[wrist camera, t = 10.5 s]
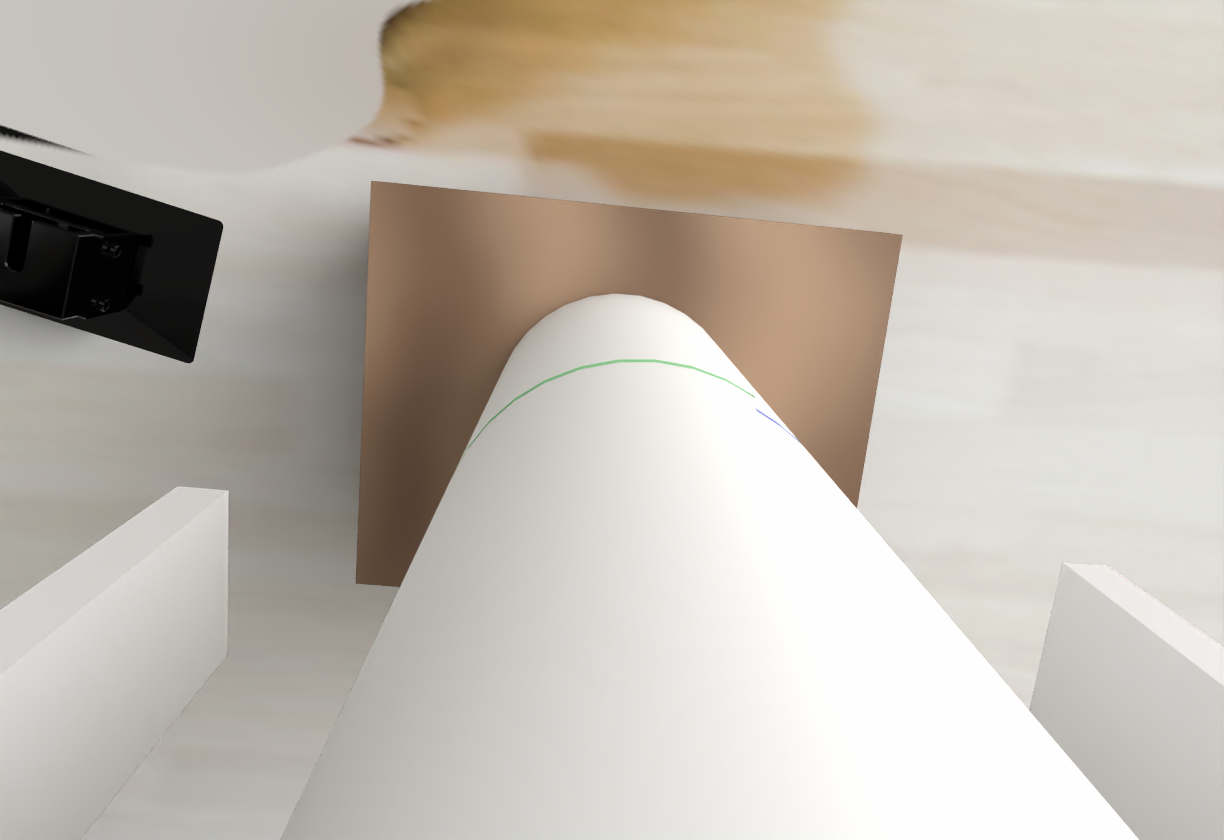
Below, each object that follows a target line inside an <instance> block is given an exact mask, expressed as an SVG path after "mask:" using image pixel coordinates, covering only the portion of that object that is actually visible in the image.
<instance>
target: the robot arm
mask: <svg viewBox="0 0 1224 840" xmlns="http://www.w3.org/2000/svg"><path fill="white" fill-rule="evenodd" d="M228 497H229V490H217V489H206V488H194V487H182V486H177V487H176V488H174V489H173V490H171V491H170V492H169V493H167V494H166V495H164V496H163V497H161V498H160V499H159V500H157V501H156V502H154V503H153V504H151V505H150V506H148V507H147V508H146V509H144V510H143V511H141V512H140V513H138V514H137V515H136V516H134V517H133V518H131V519H130V520H128V521H127V522H126V523H124V524H123V525H121V526H120V527H118V528H117V529H115V530H114V531H113V532H111V533H110V534H108V535H107V536H105V537H104V538H103V539H101V540H100V541H98V542H97V543H95V544H94V545H93V546H91V547H90V548H88V549H87V550H85V551H84V552H82V553H81V554H80V555H78V556H77V557H75V558H74V559H72V560H71V561H70V562H68V563H67V564H65V565H64V566H62V567H61V568H60V569H58V570H57V571H55V572H54V573H52V574H51V575H49V576H48V577H47V578H45V579H44V580H42V581H41V582H39V583H38V584H37V585H35V586H34V587H32V588H31V589H29V590H28V591H27V592H25V593H24V594H22V595H21V596H19V597H18V598H16V599H15V600H14V601H12V602H11V603H9V604H8V605H6V606H5V607H4V608H2V609H1V610H0V840H81V839H82V837H83V836H84V835H85V834H86V832H87V831H88V830H89V829H90V827H91V826H92V825H93V824H94V822H95V821H96V820H97V818H98V817H99V816H100V815H101V813H102V812H103V811H104V810H105V808H106V807H107V806H108V805H109V803H110V802H111V801H112V800H113V798H114V797H115V796H116V795H117V793H118V792H119V791H120V790H121V788H122V787H123V786H124V785H125V783H126V782H127V781H128V779H129V778H130V777H131V776H132V774H133V773H134V772H135V771H136V769H137V768H138V767H139V766H140V764H141V763H142V762H143V761H144V759H145V758H146V757H147V756H148V754H149V753H150V752H151V751H152V749H153V748H154V747H155V746H156V744H157V743H158V742H159V740H160V739H161V738H162V737H163V735H164V734H165V733H166V732H167V730H168V729H169V728H170V727H171V725H172V724H173V723H174V722H175V720H176V719H177V718H178V717H179V715H180V714H181V713H182V712H183V710H184V709H185V708H186V706H187V705H188V704H189V703H190V701H191V700H192V699H193V698H194V696H195V695H196V694H197V693H198V691H199V690H200V689H201V688H202V686H203V685H204V684H205V683H206V681H207V680H208V679H209V678H210V676H211V675H212V674H213V673H214V671H215V670H216V669H217V667H218V666H219V665H220V664H221V662H222V661H223V660H224V659H225V657H226V656H227V655H228ZM1029 711H1030V713H1031V714H1032V715H1033V716H1034V717H1035V718H1036V720H1037V721H1038V722H1039V723H1040V724H1041V725H1042V727H1043V728H1044V729H1045V730H1046V731H1047V733H1048V734H1049V735H1050V736H1051V737H1052V738H1053V740H1054V741H1055V742H1056V743H1057V744H1058V745H1059V747H1060V748H1061V749H1062V750H1063V751H1064V752H1065V754H1066V755H1067V756H1068V757H1069V758H1070V759H1071V761H1072V762H1073V763H1074V764H1075V765H1076V767H1077V768H1078V769H1079V770H1080V771H1081V772H1082V774H1083V775H1084V776H1085V777H1086V778H1087V779H1088V781H1089V782H1090V783H1091V784H1092V785H1093V786H1094V788H1095V789H1096V790H1097V791H1098V792H1099V793H1100V795H1101V796H1102V797H1103V798H1104V799H1105V801H1106V802H1107V803H1108V804H1109V805H1110V806H1111V808H1112V809H1113V810H1114V811H1115V812H1116V813H1117V815H1118V816H1119V817H1120V818H1121V819H1122V820H1123V822H1124V823H1125V824H1126V825H1127V826H1128V827H1129V829H1130V830H1131V831H1132V832H1133V833H1134V835H1135V836H1136V837H1137V838H1138V839H1139V840H1224V647H1223V646H1221V645H1220V644H1219V643H1217V642H1216V641H1214V640H1213V639H1212V638H1210V637H1209V636H1207V635H1206V634H1204V633H1203V632H1202V631H1200V630H1199V629H1197V628H1196V627H1195V626H1193V625H1192V624H1190V623H1189V622H1187V621H1186V620H1185V619H1183V618H1182V617H1180V616H1179V615H1178V614H1176V613H1175V612H1173V611H1172V610H1171V609H1169V608H1168V607H1166V606H1165V605H1163V604H1162V603H1161V602H1159V601H1158V600H1156V599H1155V598H1154V597H1152V596H1151V595H1149V594H1148V593H1146V592H1145V591H1144V590H1142V589H1141V588H1139V587H1138V586H1137V585H1135V584H1134V583H1132V582H1131V581H1130V580H1128V579H1127V578H1125V577H1124V576H1122V575H1121V574H1120V573H1118V572H1117V571H1115V570H1114V569H1113V568H1111V567H1110V566H1103V565H1091V564H1080V563H1068V562H1062V566H1061V571H1060V575H1059V580H1058V584H1057V589H1056V593H1055V598H1054V602H1053V607H1052V611H1051V615H1050V620H1049V624H1048V629H1047V633H1046V638H1045V642H1044V647H1043V651H1042V656H1041V660H1040V665H1039V669H1038V673H1037V678H1036V682H1035V687H1034V691H1033V696H1032V700H1031V705H1030V709H1029Z"/></svg>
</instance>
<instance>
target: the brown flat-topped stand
mask: <svg viewBox="0 0 1224 840" xmlns="http://www.w3.org/2000/svg"><path fill="white" fill-rule="evenodd" d="M901 241H902V235H899V234H890V233H882V232H872V231H862V230H852V229H842V228H833V227H823V226H813V225H803V224H793V223H783V222H773V221H764V220H754V219H744V218H734V217H724V216H714V215H704V214H694V213H685V212H675V211H665V210H655V209H645V208H635V207H625V206H616V205H606V204H596V203H586V202H576V201H566V200H556V199H547V198H537V197H527V196H517V195H507V194H497V193H487V192H477V191H468V190H458V189H448V188H438V187H428V186H418V185H408V184H399V183H389V182H377V181H371V200H370V226H369V252H368V278H367V305H366V331H365V357H364V383H363V410H362V436H361V462H360V488H359V515H358V541H357V567H356V583H357V584H369V585H382V586H394V587H400V586H401V584H402V582H403V580H404V578H405V575H406V573H407V571H408V569H409V567H410V565H411V563H412V561H413V559H414V556H415V554H416V552H417V550H418V548H419V546H420V544H421V542H422V540H423V537H424V535H425V533H426V531H427V529H428V527H429V525H430V523H431V521H432V518H433V516H434V514H435V512H436V510H437V508H438V506H439V504H440V502H441V499H442V497H443V495H444V493H445V491H446V489H447V487H448V485H449V483H450V480H451V479H452V477H453V474H454V472H455V470H456V468H457V466H458V464H459V462H460V459H461V457H462V455H463V453H464V451H465V449H466V447H467V445H468V443H469V441H470V438H471V436H472V434H473V432H474V430H475V428H476V426H477V424H478V422H479V420H480V417H481V415H482V413H483V411H484V409H485V407H486V405H487V403H488V401H489V399H490V397H491V394H492V392H493V390H494V388H495V386H496V384H497V382H498V380H499V378H500V376H501V373H502V371H503V369H504V367H505V365H506V363H507V362H508V360H509V358H510V356H511V354H512V352H513V350H514V348H515V347H516V346H517V345H518V343H519V342H520V341H521V339H522V338H523V337H524V336H525V334H526V333H527V332H528V331H529V330H530V329H531V328H532V327H534V326H535V325H536V324H537V323H538V322H539V321H540V320H542V319H543V318H544V317H545V316H547V315H549V314H550V313H552V312H554V311H556V310H557V309H559V308H561V307H562V306H564V305H566V304H569V303H572V302H575V301H578V300H581V299H584V298H587V297H591V296H599V295H607V294H626V295H637V296H643V297H646V298H650V299H653V300H656V301H660V302H663V303H665V304H667V305H669V306H671V307H673V308H675V309H677V310H678V311H680V312H682V313H684V314H686V315H687V316H688V317H689V318H691V319H692V320H693V321H694V322H696V323H697V324H698V325H699V326H700V327H702V328H703V329H704V330H705V332H706V333H707V334H708V335H709V336H710V337H711V339H712V340H713V341H714V342H715V343H716V344H717V346H718V347H719V348H720V349H721V350H722V352H723V353H724V354H725V355H726V356H727V357H728V359H729V360H730V361H731V362H732V363H733V364H734V366H735V367H736V368H737V369H738V370H739V371H740V373H741V374H742V375H743V376H744V377H745V378H746V380H747V381H748V382H749V383H750V384H751V386H752V387H753V388H754V389H755V390H756V391H757V393H758V394H759V395H760V396H761V397H762V398H763V400H764V401H765V402H766V403H767V404H768V405H769V407H770V408H771V409H772V410H773V411H774V412H775V414H776V415H777V416H778V417H779V418H780V420H781V421H782V422H783V423H784V424H785V425H786V427H787V428H788V429H789V430H790V431H791V432H792V434H793V435H794V436H795V437H796V438H797V439H798V441H799V442H800V443H801V444H802V445H803V446H804V448H805V449H806V450H807V451H808V452H809V454H810V455H811V456H812V457H813V458H814V459H815V461H816V462H817V463H818V464H819V465H820V466H821V468H822V469H823V470H824V471H825V472H826V473H827V475H828V476H829V477H830V478H831V479H832V480H833V482H834V483H835V484H836V485H837V486H838V488H839V489H840V490H841V491H842V492H843V493H844V495H845V496H846V497H847V498H848V499H849V500H850V502H851V503H852V504H853V505H854V506H855V507H856V509H857V504H858V498H859V492H860V486H861V480H862V474H863V468H864V462H865V456H866V450H867V444H868V438H869V432H870V426H871V420H872V414H873V408H874V402H875V396H876V390H877V384H878V378H879V372H880V366H881V360H882V354H883V348H884V342H885V337H886V331H887V325H888V319H889V313H890V307H891V301H892V295H893V289H894V283H895V277H896V271H897V265H898V259H899V253H900V247H901Z"/></svg>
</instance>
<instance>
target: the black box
mask: <svg viewBox="0 0 1224 840" xmlns="http://www.w3.org/2000/svg"><path fill="white" fill-rule="evenodd" d="M0 137H2V138H8V139H14V140H20V141H23V142H29V143H35V144H41V145H48V146H53V147H59V148H64V149H69V150H75V151H79V150H76V149H73V148H70V147H67V146H64V145H61V144H57V143H54V142H51V141H48V140H45V139H42V138H39V137H36V136H33V135H30V134H27V133H24V132H21V131H18V130H15V129H12V128H8V127H6V126H2V125H0ZM81 152H82V151H81ZM222 231H223V224H222V222H220V221H218V220H215V219H212V218H209V217H206V216H203V215H200V214H197V213H193V212H190V211H187V210H184V209H181V208H178V207H175V206H172V205H169V204H165V203H162V202H159V201H156V200H153V199H150V198H147V197H144V196H140V195H137V194H134V193H131V192H128V191H125V190H122V189H119V188H116V187H112V186H109V185H106V184H103V183H100V182H97V181H94V180H91V179H87V178H84V177H81V176H78V175H75V174H72V173H69V172H66V171H62V170H59V169H56V168H53V167H50V166H47V165H44V164H41V163H38V162H34V161H31V160H28V159H25V158H22V157H19V156H16V155H13V154H9V153H6V152H3V151H0V304H1V305H4V306H7V307H11V308H14V309H17V310H20V311H23V312H27V313H30V314H33V315H36V316H39V317H42V318H46V319H49V320H52V321H55V322H58V323H61V324H65V325H68V326H71V327H74V328H77V329H81V330H84V331H87V332H90V333H93V334H96V335H100V336H103V337H106V338H109V339H112V340H115V341H119V342H122V343H125V344H128V345H131V346H135V347H138V348H141V349H144V350H147V351H150V352H154V353H157V354H160V355H163V356H166V357H170V358H173V359H176V360H179V361H182V362H185V363H191V362H193V360H194V356H195V351H196V347H197V343H198V338H199V334H200V329H201V325H202V320H203V316H204V311H205V307H206V302H207V298H208V293H209V289H210V284H211V280H212V275H213V271H214V266H215V262H216V257H217V253H218V249H219V244H220V240H221V235H222Z"/></svg>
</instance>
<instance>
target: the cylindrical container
mask: <svg viewBox="0 0 1224 840" xmlns="http://www.w3.org/2000/svg"><path fill="white" fill-rule="evenodd" d="M281 840H1139V839H1138V838H1137V837H1136V836H1135V835H1134V833H1133V832H1132V831H1131V830H1130V829H1129V827H1128V826H1127V825H1126V824H1125V823H1124V822H1123V820H1122V819H1121V818H1120V817H1119V816H1118V815H1117V813H1116V812H1115V811H1114V810H1113V809H1112V808H1111V806H1110V805H1109V804H1108V803H1107V802H1106V801H1105V799H1104V798H1103V797H1102V796H1101V795H1100V793H1099V792H1098V791H1097V790H1096V789H1095V788H1094V786H1093V785H1092V784H1091V783H1090V782H1089V781H1088V779H1087V778H1086V777H1085V776H1084V775H1083V774H1082V772H1081V771H1080V770H1079V769H1078V768H1077V767H1076V765H1075V764H1074V763H1073V762H1072V761H1071V759H1070V758H1069V757H1068V756H1067V755H1066V754H1065V752H1064V751H1063V750H1062V749H1061V748H1060V747H1059V745H1058V744H1057V743H1056V742H1055V741H1054V740H1053V738H1052V737H1051V736H1050V735H1049V734H1048V733H1047V731H1046V730H1045V729H1044V728H1043V727H1042V725H1041V724H1040V723H1039V722H1038V721H1037V720H1036V718H1035V717H1034V716H1033V715H1032V714H1031V713H1030V711H1029V710H1028V709H1027V708H1026V707H1025V706H1024V704H1023V703H1022V702H1021V701H1020V700H1019V699H1018V697H1017V696H1016V695H1015V694H1014V693H1013V691H1012V690H1011V689H1010V688H1009V687H1008V686H1007V684H1006V683H1005V682H1004V681H1003V680H1002V679H1001V677H1000V676H999V675H998V674H997V673H996V672H995V670H994V669H993V668H992V667H991V666H990V665H989V663H988V662H987V661H986V660H985V659H984V657H983V656H982V655H981V654H980V653H979V652H978V650H977V649H976V648H975V647H974V646H973V645H972V643H971V642H970V641H969V640H968V639H967V638H966V636H965V635H964V634H963V633H962V632H961V631H960V629H959V628H958V627H957V626H956V625H955V623H954V622H953V621H952V620H951V619H950V618H949V616H948V615H947V614H946V613H945V612H944V611H943V609H942V608H941V607H940V606H939V605H938V604H937V602H936V601H935V600H934V599H933V598H932V597H931V595H930V594H929V593H928V592H927V591H926V589H925V588H924V587H923V586H922V585H921V584H920V582H919V581H918V580H917V579H916V578H915V577H914V575H913V574H912V573H911V572H910V571H909V570H908V568H907V567H906V566H905V565H904V564H903V563H902V561H901V560H900V559H899V558H898V557H897V555H896V554H895V553H894V552H893V551H892V550H891V548H890V547H889V546H888V545H887V544H886V543H885V541H884V540H883V539H882V538H881V537H880V536H879V534H878V533H877V532H876V531H875V530H874V529H873V527H872V526H871V525H870V524H869V523H868V521H867V520H866V519H865V518H864V517H863V516H862V514H861V513H860V512H859V511H858V510H857V509H856V507H855V506H854V505H853V504H852V503H851V502H850V500H849V499H848V498H847V497H846V496H845V495H844V493H843V492H842V491H841V490H840V489H839V488H838V486H837V485H836V484H835V483H834V482H833V480H832V479H831V478H830V477H829V476H828V475H827V473H826V472H825V471H824V470H823V469H822V468H821V466H820V465H819V464H818V463H817V462H816V461H815V459H814V458H813V457H812V456H811V455H810V454H809V452H808V451H807V450H806V449H805V448H804V446H803V445H802V444H801V443H800V442H799V441H798V439H797V438H796V437H795V436H794V435H793V434H792V432H791V431H790V430H789V429H788V428H787V427H786V425H785V424H784V423H783V422H782V421H781V420H780V418H779V417H778V416H777V415H776V414H775V412H774V411H773V410H772V409H771V408H770V407H769V405H768V404H767V403H766V402H765V401H764V400H763V398H762V397H761V396H760V395H759V394H758V393H757V391H756V390H755V389H754V388H753V387H752V386H751V384H750V383H749V382H748V381H747V380H746V378H745V377H744V376H743V375H742V374H741V373H740V371H739V370H738V369H737V368H736V367H735V366H734V364H733V363H732V362H731V361H730V360H729V359H728V357H727V356H726V355H725V354H724V353H723V352H722V350H721V349H720V348H719V347H718V346H717V344H716V343H715V342H714V341H713V340H712V339H711V337H710V336H709V335H708V334H707V333H706V332H705V330H704V329H703V328H702V327H700V326H699V325H698V324H697V323H696V322H694V321H693V320H692V319H691V318H689V317H688V316H687V315H686V314H684V313H682V312H680V311H678V310H677V309H675V308H673V307H671V306H669V305H667V304H665V303H663V302H660V301H656V300H653V299H650V298H646V297H643V296H637V295H626V294H607V295H599V296H591V297H587V298H584V299H581V300H578V301H575V302H572V303H569V304H566V305H564V306H562V307H561V308H559V309H557V310H556V311H554V312H552V313H550V314H549V315H547V316H545V317H544V318H543V319H542V320H540V321H539V322H538V323H537V324H536V325H535V326H534V327H532V328H531V329H530V330H529V331H528V332H527V333H526V334H525V336H524V337H523V338H522V339H521V341H520V342H519V343H518V345H517V346H516V347H515V348H514V350H513V352H512V354H511V356H510V358H509V360H508V362H507V363H506V365H505V367H504V369H503V371H502V373H501V376H500V378H499V380H498V382H497V384H496V386H495V388H494V390H493V392H492V394H491V397H490V399H489V401H488V403H487V405H486V407H485V409H484V411H483V413H482V415H481V417H480V420H479V422H478V424H477V426H476V428H475V430H474V432H473V434H472V436H471V438H470V441H469V443H468V445H467V447H466V449H465V451H464V453H463V455H462V457H461V459H460V462H459V464H458V466H457V468H456V470H455V472H454V474H453V477H452V479H451V480H450V483H449V485H448V487H447V489H446V491H445V493H444V495H443V497H442V499H441V502H440V504H439V506H438V508H437V510H436V512H435V514H434V516H433V518H432V521H431V523H430V525H429V527H428V529H427V531H426V533H425V535H424V537H423V540H422V542H421V544H420V546H419V548H418V550H417V552H416V554H415V556H414V559H413V561H412V563H411V565H410V567H409V569H408V571H407V573H406V575H405V578H404V580H403V582H402V584H401V586H400V588H399V590H398V592H397V594H396V597H395V599H394V601H393V603H392V605H391V607H390V609H389V611H388V613H387V616H386V618H385V620H384V622H383V624H382V626H381V628H380V630H379V632H378V635H377V637H376V639H375V641H374V643H373V645H372V647H371V649H370V651H369V654H368V656H367V658H366V660H365V662H364V664H363V666H362V668H361V671H360V673H359V675H358V677H357V679H356V681H355V683H354V685H353V687H352V690H351V692H350V694H349V696H348V698H347V700H346V702H345V704H344V706H343V709H342V711H341V713H340V715H339V717H338V719H337V721H336V723H335V725H334V728H333V730H332V732H331V734H330V736H329V738H328V740H327V742H326V744H325V747H324V749H323V751H322V753H321V755H320V757H319V759H318V761H317V763H316V766H315V768H314V770H313V772H312V774H311V776H310V778H309V780H308V782H307V785H306V787H305V789H304V791H303V793H302V795H301V797H300V799H299V801H298V804H297V806H296V808H295V810H294V812H293V814H292V816H291V818H290V820H289V823H288V825H287V827H286V829H285V831H284V833H283V835H282V837H281Z"/></svg>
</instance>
